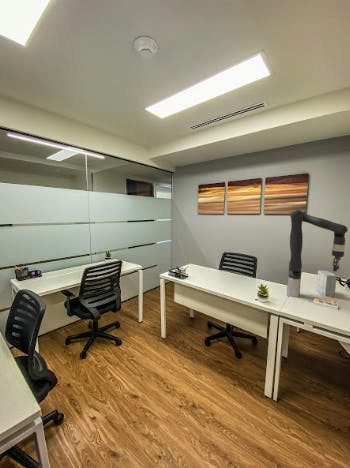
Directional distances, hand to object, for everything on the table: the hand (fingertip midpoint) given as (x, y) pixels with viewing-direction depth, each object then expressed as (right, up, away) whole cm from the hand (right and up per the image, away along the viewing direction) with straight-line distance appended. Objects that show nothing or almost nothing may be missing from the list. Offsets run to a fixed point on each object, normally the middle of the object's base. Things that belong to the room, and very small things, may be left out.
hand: (335, 270), depth 161 cm
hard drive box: (+7, -26, +20) cm, 33 cm away
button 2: (-10, -27, -2) cm, 29 cm away
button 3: (-6, -25, -5) cm, 27 cm away
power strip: (-11, -28, -1) cm, 30 cm away
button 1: (-14, -26, +1) cm, 30 cm away
